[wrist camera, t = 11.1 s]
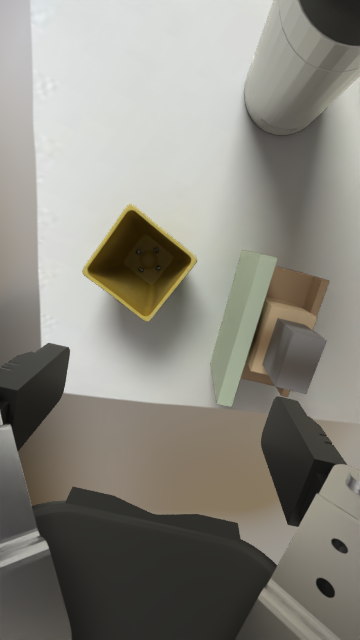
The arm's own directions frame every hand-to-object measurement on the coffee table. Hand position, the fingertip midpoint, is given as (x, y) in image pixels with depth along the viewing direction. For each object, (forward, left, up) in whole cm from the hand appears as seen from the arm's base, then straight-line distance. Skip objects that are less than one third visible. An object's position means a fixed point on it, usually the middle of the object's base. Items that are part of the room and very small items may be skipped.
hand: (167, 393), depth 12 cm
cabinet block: (+2, +11, -25) cm, 27 cm away
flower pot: (-2, -5, -30) cm, 31 cm away
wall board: (+2, +10, -30) cm, 32 cm away
